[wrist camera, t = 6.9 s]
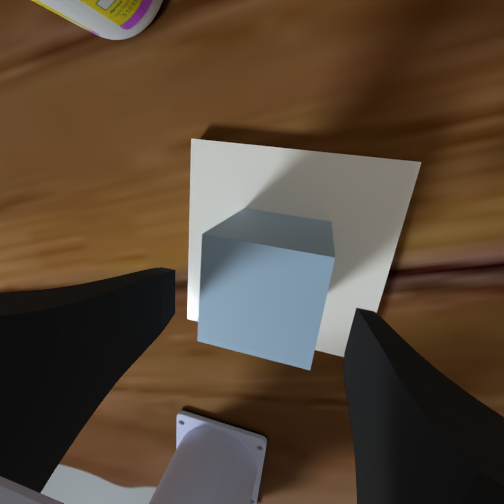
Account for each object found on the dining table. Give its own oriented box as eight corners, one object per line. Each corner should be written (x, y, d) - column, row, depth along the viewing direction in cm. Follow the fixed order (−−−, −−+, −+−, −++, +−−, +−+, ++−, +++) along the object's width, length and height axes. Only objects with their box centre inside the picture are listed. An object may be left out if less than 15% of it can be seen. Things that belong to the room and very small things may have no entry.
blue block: (315, 301, 17) (310, 370, 11) (237, 284, 18) (197, 341, 12) (331, 221, 15) (335, 257, 10) (244, 208, 16) (202, 234, 11)
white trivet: (360, 351, 18) (362, 361, 17) (193, 311, 21) (187, 318, 20) (415, 162, 14) (421, 162, 13) (198, 139, 16) (191, 138, 16)
